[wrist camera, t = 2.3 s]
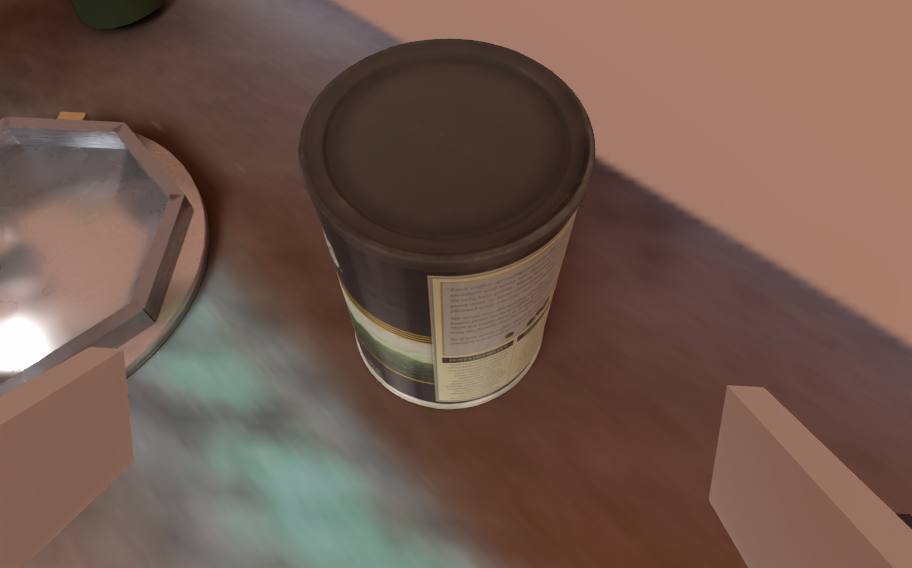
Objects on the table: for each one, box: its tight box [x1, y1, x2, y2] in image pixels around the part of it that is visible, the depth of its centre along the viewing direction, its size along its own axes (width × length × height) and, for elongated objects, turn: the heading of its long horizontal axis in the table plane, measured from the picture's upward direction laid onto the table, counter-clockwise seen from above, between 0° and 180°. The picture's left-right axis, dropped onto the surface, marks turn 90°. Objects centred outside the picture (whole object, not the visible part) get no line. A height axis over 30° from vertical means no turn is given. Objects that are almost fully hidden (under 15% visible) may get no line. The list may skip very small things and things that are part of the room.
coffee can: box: [299, 39, 595, 409], centre depth 28 cm, size 10×10×14 cm
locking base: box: [0, 112, 210, 397], centre depth 35 cm, size 20×20×2 cm
